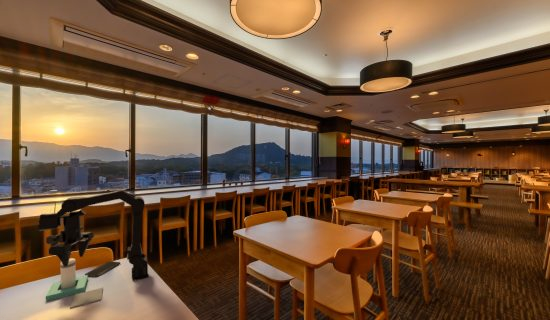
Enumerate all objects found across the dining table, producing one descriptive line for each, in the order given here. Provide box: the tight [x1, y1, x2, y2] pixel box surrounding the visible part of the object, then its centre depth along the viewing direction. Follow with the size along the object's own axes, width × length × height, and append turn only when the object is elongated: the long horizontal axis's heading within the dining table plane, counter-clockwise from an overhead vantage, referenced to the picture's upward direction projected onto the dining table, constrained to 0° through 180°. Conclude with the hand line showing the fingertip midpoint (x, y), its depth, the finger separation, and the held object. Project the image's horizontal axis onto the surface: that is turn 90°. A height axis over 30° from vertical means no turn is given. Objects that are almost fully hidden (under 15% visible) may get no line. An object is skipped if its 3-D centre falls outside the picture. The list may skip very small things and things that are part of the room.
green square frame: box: [45, 275, 89, 302], centre depth 105 cm, size 12×12×2 cm
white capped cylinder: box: [59, 257, 77, 290], centre depth 105 cm, size 5×5×13 cm
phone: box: [84, 260, 121, 278], centre depth 124 cm, size 8×1×15 cm
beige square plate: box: [69, 287, 104, 309], centre depth 99 cm, size 10×10×1 cm
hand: (73, 261), depth 103 cm, fingers open, 9 cm apart
